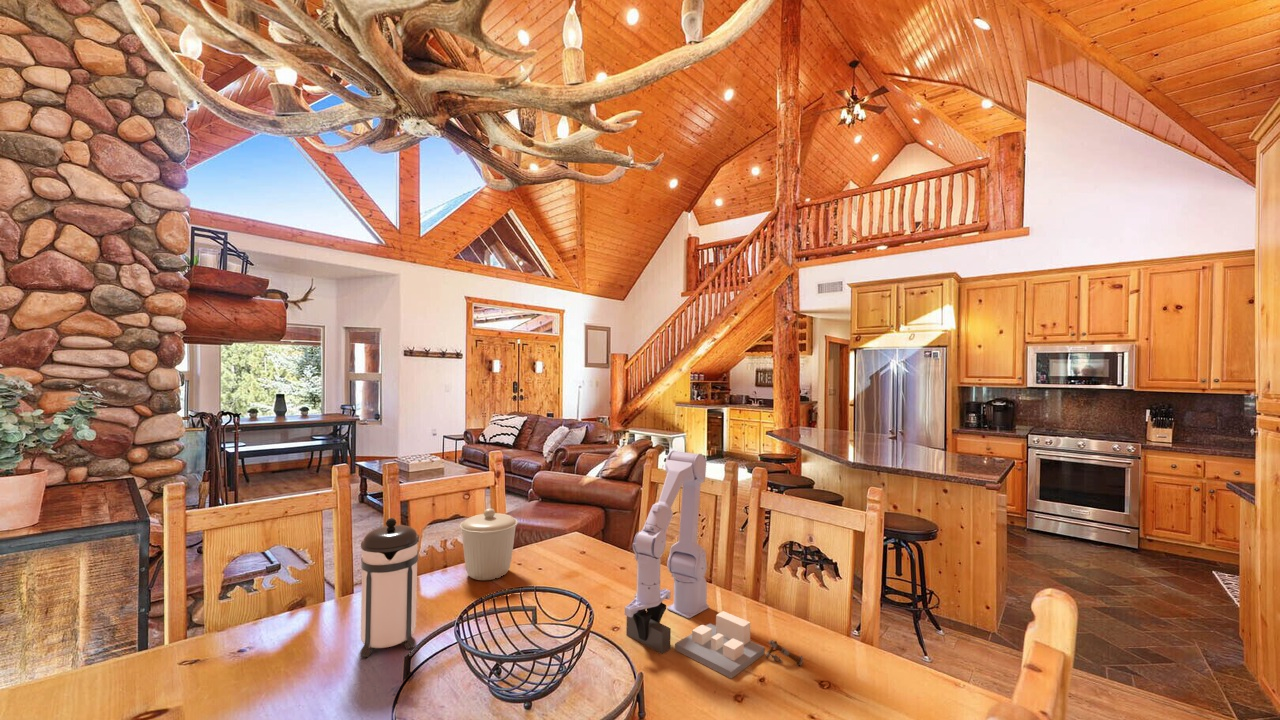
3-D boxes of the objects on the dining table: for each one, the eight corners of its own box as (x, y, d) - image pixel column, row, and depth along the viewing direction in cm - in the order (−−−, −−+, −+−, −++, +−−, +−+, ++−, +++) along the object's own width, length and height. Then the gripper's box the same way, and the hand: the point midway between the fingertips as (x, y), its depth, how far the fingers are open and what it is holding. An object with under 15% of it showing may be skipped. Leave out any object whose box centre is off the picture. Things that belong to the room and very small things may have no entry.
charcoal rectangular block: (634, 630, 132) (635, 611, 132) (670, 649, 124) (670, 628, 124) (626, 635, 130) (626, 615, 130) (662, 654, 122) (662, 632, 122)
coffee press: (438, 633, 129) (441, 513, 130) (383, 666, 115) (386, 531, 115) (390, 618, 137) (392, 504, 137) (332, 647, 122) (335, 520, 122)
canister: (465, 564, 174) (466, 501, 174) (520, 562, 176) (521, 500, 176) (452, 587, 156) (453, 517, 156) (513, 585, 158) (514, 516, 158)
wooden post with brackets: (762, 652, 121) (770, 636, 121) (794, 672, 119) (803, 655, 119) (762, 656, 119) (770, 640, 119) (794, 676, 118) (803, 659, 117)
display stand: (709, 629, 133) (710, 605, 133) (764, 653, 122) (765, 628, 122) (674, 649, 123) (675, 624, 123) (731, 678, 112) (731, 651, 112)
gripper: (656, 568, 135) (655, 620, 135) (616, 584, 125) (615, 640, 124) (677, 575, 130) (676, 630, 130) (637, 593, 120) (636, 652, 119)
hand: (647, 636), depth 127 cm, fingers closed on charcoal rectangular block, 3 cm apart
